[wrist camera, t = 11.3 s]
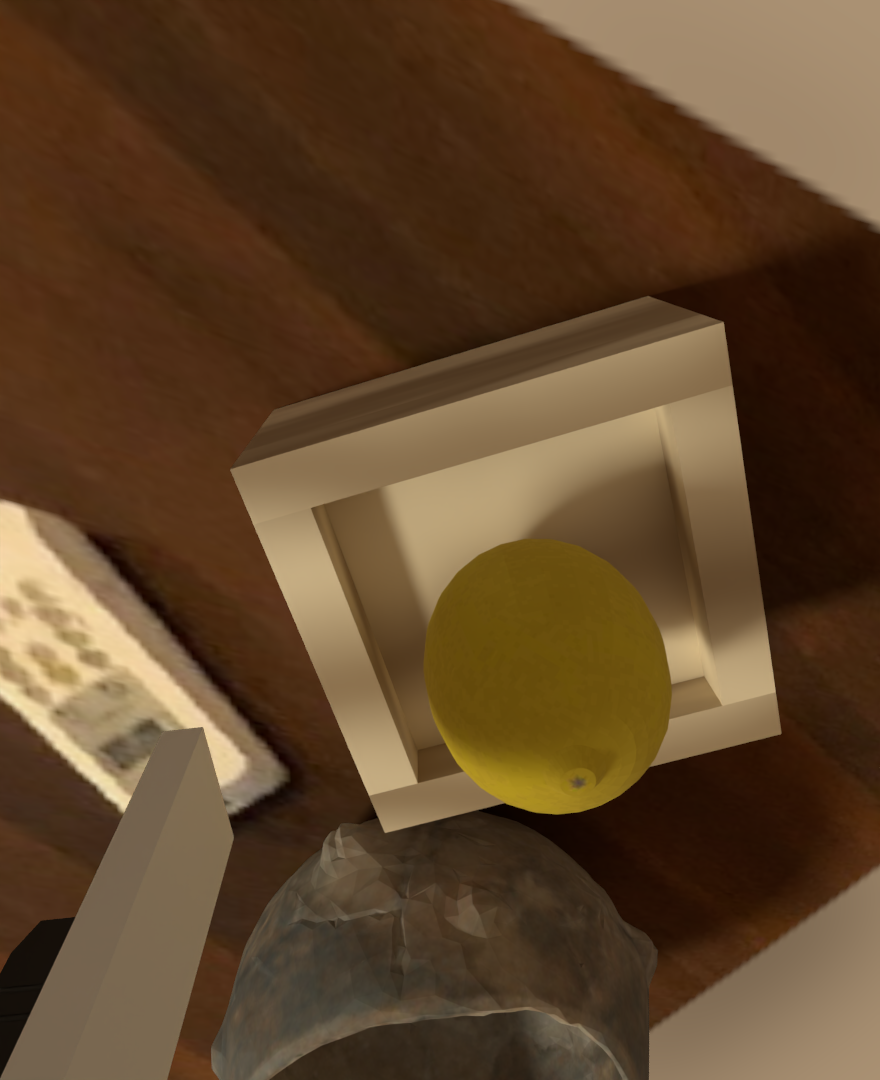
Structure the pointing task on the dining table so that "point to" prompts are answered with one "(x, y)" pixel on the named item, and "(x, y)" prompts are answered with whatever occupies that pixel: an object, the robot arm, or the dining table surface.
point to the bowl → (439, 964)
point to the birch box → (516, 525)
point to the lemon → (547, 676)
